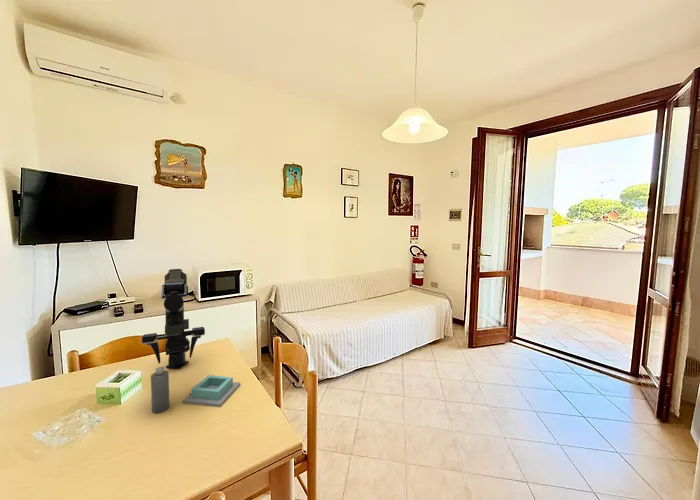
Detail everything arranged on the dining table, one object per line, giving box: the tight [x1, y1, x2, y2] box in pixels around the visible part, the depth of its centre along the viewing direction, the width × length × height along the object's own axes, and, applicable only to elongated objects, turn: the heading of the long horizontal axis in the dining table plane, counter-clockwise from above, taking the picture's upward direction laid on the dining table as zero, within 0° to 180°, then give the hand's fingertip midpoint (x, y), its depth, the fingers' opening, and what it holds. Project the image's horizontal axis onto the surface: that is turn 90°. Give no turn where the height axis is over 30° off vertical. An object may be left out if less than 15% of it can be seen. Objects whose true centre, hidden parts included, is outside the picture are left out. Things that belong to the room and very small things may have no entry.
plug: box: [150, 366, 170, 414], centre depth 98 cm, size 5×5×14 cm
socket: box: [182, 374, 241, 408], centre depth 108 cm, size 14×14×4 cm
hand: (175, 360), depth 101 cm, fingers open, 9 cm apart
